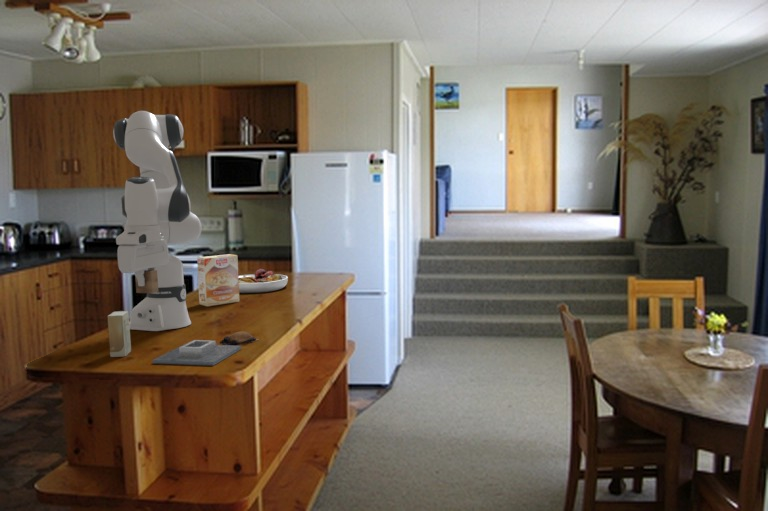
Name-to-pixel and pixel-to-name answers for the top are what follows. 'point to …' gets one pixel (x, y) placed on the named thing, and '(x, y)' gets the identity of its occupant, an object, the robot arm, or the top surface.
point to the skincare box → (119, 334)
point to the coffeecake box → (218, 279)
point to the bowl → (261, 282)
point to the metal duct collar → (198, 353)
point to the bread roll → (238, 339)
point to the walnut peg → (148, 282)
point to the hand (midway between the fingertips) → (146, 284)
